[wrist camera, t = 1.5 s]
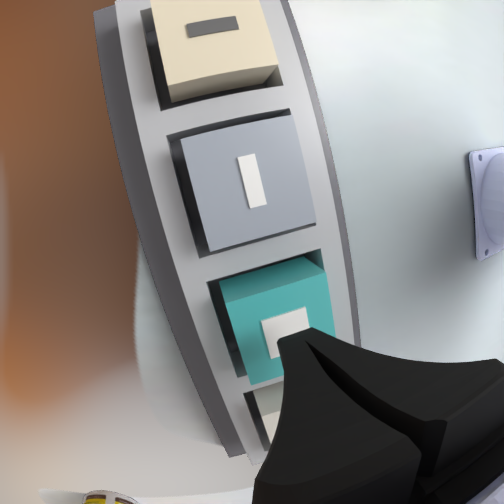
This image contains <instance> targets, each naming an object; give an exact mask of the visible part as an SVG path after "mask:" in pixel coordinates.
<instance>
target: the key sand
mask: <svg viewBox="0 0 504 504" xmlns="http://www.w3.org/2000/svg"><path fill="white" fill-rule="evenodd" d="M150 3H151V8H152V13H153V18H154V23H155V28H156V33H157V38H158V43H159V48H160V52H161V57H162V62H163V66H164V71H165V75H166V80H167V84H168V89H169V93H170V98H171V102H172V103H174V102H177V101H181V100H185V99H189V98H193V97H197V96H202V95H206V94H211V93H215V92H220V91H225V90H230V89H235V88H240V87H246V86H251V85H257V84H263V83H264V82H265V81H266V79H267V78H268V77H269V76H270V75H271V73H272V72H273V71H274V70H275V69H276V67H277V66H278V65H279V63H278V59H277V56H276V52H275V49H274V46H273V42H272V39H271V36H270V33H269V29H268V26H267V23H266V20H265V17H264V14H263V11H262V8H261V5H260V2H259V0H150Z"/></svg>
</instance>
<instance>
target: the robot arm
mask: <svg viewBox="0 0 504 504" xmlns="http://www.w3.org/2000/svg"><path fill="white" fill-rule="evenodd" d="M469 162H470V170H471V178H472V187H473V197H474V210H475V229H476V257H477V259H478V260H484V259H486V258H488V257H490V256H492V255H493V254H495V253H497V252H499V251H501V250H503V249H504V147H497V148H490V149H484V150H477V151H472V152H470V154H469ZM277 346H278V350H279V354H280V358H281V362H282V366H283V371H284V386H283V398H282V405H281V411H280V416H279V420H278V424H277V428H276V432H275V435H274V438H273V440H272V443H271V446H270V449H269V451H268V454H267V456H266V458H265V460H264V462H263V464H262V466H261V469H260V470H259V472H258V474H257V477H256V478H255V483H254V490H253V499H252V504H504V364H503V363H502V362H500V361H499V360H497V359H489V360H481V361H473V362H460V363H436V362H423V361H413V360H407V359H401V358H396V357H391V356H387V355H383V354H379V353H376V352H373V351H369V350H366V349H363V348H360V347H358V346H355V345H352V344H350V343H347V342H345V341H342V340H340V339H338V338H335V337H333V336H331V335H329V334H327V333H324V332H322V331H320V330H318V329H316V328H313V327H311V328H308V329H305V330H302V331H299V332H296V333H294V334H291V335H288V336H285V337H282V338H279V339H278V341H277Z"/></svg>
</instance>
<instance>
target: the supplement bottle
mask: <svg viewBox="0 0 504 504" xmlns="http://www.w3.org/2000/svg"><path fill="white" fill-rule="evenodd" d="M82 504H139V503H137V502H136V501H135V500H133V499H131V498H130V497H127V496H125V495H122V494H119V493H116V492H111V491H104V490H102V491H101V490H98V491H91V492H89V493H87V494H86V495H85V496H84V498H83V502H82Z"/></svg>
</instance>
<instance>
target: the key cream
mask: <svg viewBox="0 0 504 504" xmlns="http://www.w3.org/2000/svg"><path fill="white" fill-rule="evenodd" d="M283 386H284V380H283V381H280V382H277V383H274V384H271V385H268V386H265V387H262V388H258V389H255V390H253V393H254V396H255V399H256V402H257V405H258V408H259V411H260V414H261V417H262V420H263V423H264V426H265V429H266V431H267V434H268V437H269V440H270V443H272V440H273V438H274V435H275V432H276V428H277V424H278V420H279V416H280V411H281V405H282V398H283Z"/></svg>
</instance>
